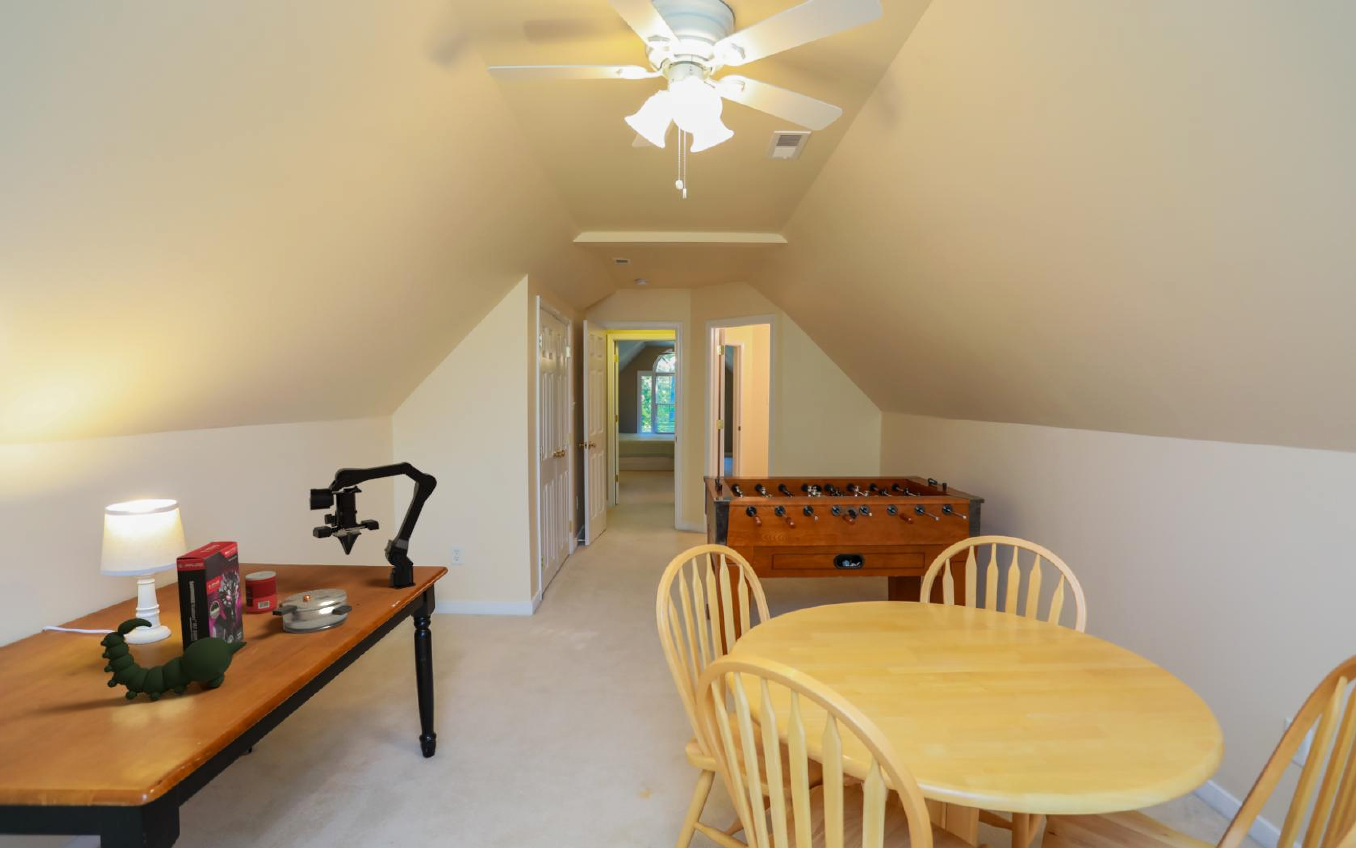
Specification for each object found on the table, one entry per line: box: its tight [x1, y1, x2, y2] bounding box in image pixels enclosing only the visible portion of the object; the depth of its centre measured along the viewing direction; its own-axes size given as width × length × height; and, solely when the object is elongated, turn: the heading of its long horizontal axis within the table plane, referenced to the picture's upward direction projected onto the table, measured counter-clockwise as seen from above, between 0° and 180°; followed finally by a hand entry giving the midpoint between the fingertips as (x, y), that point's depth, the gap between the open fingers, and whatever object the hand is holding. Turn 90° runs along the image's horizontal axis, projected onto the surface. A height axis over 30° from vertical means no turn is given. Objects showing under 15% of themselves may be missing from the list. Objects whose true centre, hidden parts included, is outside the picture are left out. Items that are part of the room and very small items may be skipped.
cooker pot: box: [278, 598, 353, 634], centre depth 186 cm, size 16×22×6 cm
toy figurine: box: [99, 617, 248, 702], centre depth 143 cm, size 9×19×25 cm
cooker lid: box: [271, 588, 348, 617], centre depth 183 cm, size 21×16×3 cm
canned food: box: [244, 570, 278, 615], centre depth 197 cm, size 8×8×11 cm
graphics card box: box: [175, 540, 245, 654], centre depth 163 cm, size 17×7×27 cm, turn 12°
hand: (347, 554), depth 212 cm, fingers closed
